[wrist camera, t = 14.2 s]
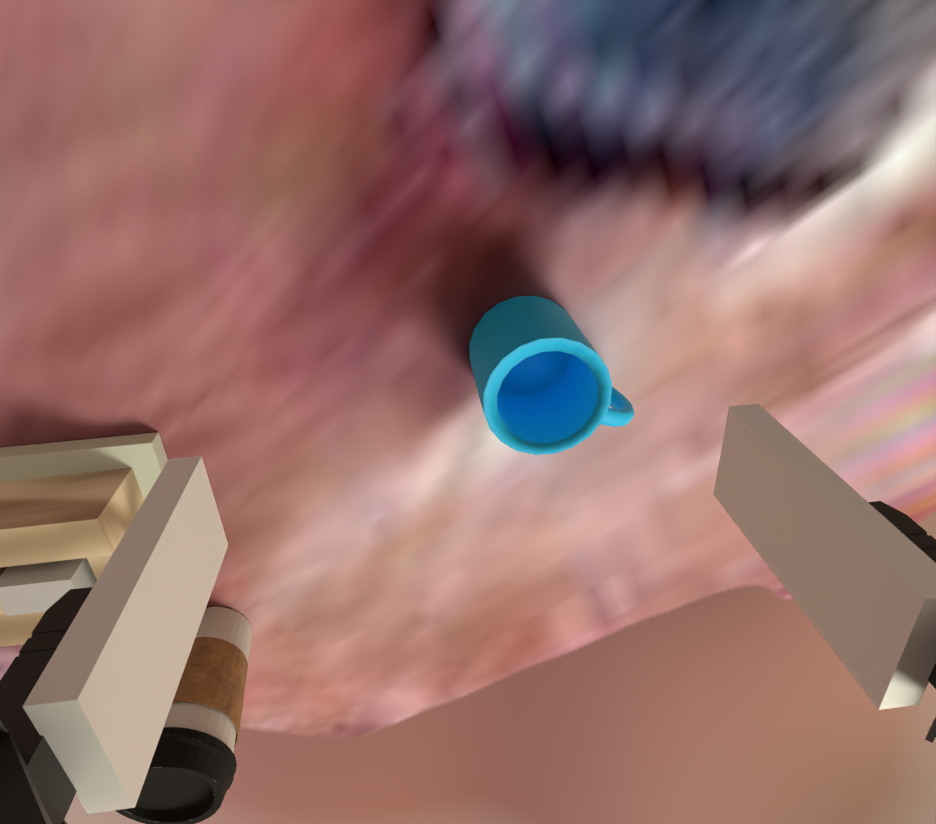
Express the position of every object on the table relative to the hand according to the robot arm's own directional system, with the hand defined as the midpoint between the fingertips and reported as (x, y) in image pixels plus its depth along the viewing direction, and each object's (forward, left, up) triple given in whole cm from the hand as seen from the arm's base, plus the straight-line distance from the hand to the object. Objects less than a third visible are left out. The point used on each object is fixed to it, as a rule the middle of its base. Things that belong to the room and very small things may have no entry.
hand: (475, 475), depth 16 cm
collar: (+20, -28, -27) cm, 44 cm away
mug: (+10, +8, -29) cm, 32 cm away
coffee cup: (+33, -21, -29) cm, 49 cm away
